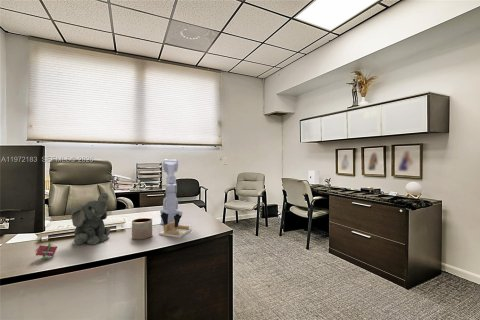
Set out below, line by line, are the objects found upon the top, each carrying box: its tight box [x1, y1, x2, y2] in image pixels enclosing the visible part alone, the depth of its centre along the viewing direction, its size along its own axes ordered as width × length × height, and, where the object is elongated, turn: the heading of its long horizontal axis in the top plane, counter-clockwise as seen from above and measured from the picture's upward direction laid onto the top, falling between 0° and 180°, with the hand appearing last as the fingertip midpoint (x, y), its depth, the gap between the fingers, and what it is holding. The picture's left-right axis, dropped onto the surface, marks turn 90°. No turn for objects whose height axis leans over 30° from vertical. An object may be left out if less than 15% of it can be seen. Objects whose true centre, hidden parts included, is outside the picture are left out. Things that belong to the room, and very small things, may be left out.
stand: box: [158, 227, 192, 238], centre depth 139 cm, size 14×12×3 cm
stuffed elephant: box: [70, 192, 111, 245], centre depth 127 cm, size 19×21×27 cm
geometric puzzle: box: [35, 241, 58, 260], centre depth 104 cm, size 7×7×8 cm
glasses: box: [163, 221, 190, 235], centre depth 139 cm, size 10×12×4 cm
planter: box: [131, 217, 153, 241], centre depth 133 cm, size 11×11×10 cm
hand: (171, 226), depth 140 cm, fingers open, 7 cm apart
